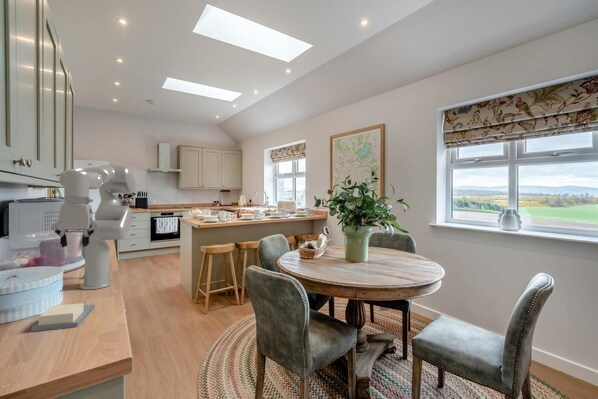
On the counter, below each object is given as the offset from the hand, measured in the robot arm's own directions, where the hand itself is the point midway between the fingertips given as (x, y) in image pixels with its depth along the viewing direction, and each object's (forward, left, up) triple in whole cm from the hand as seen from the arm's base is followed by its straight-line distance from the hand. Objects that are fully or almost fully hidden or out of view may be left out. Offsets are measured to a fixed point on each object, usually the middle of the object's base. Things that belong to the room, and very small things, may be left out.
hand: (75, 246), depth 107 cm
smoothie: (0, 0, -4) cm, 4 cm away
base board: (+14, +3, -23) cm, 27 cm away
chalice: (-39, -7, -24) cm, 46 cm away
